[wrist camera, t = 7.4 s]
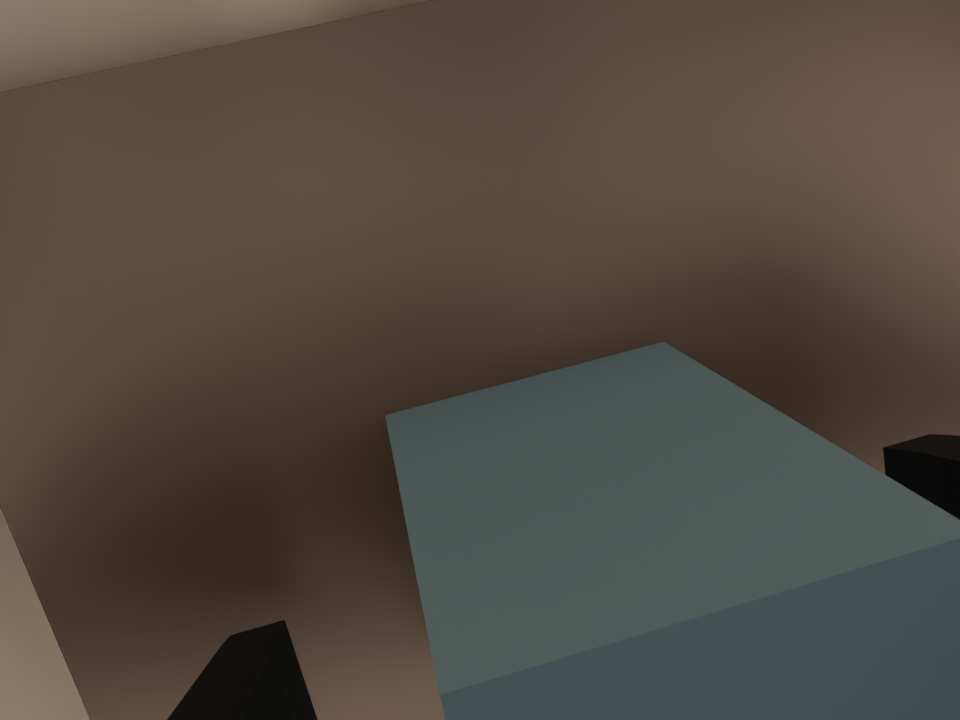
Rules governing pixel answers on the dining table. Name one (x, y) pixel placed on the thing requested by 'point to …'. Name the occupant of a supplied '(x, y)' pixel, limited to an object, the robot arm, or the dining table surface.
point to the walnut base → (435, 289)
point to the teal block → (669, 555)
